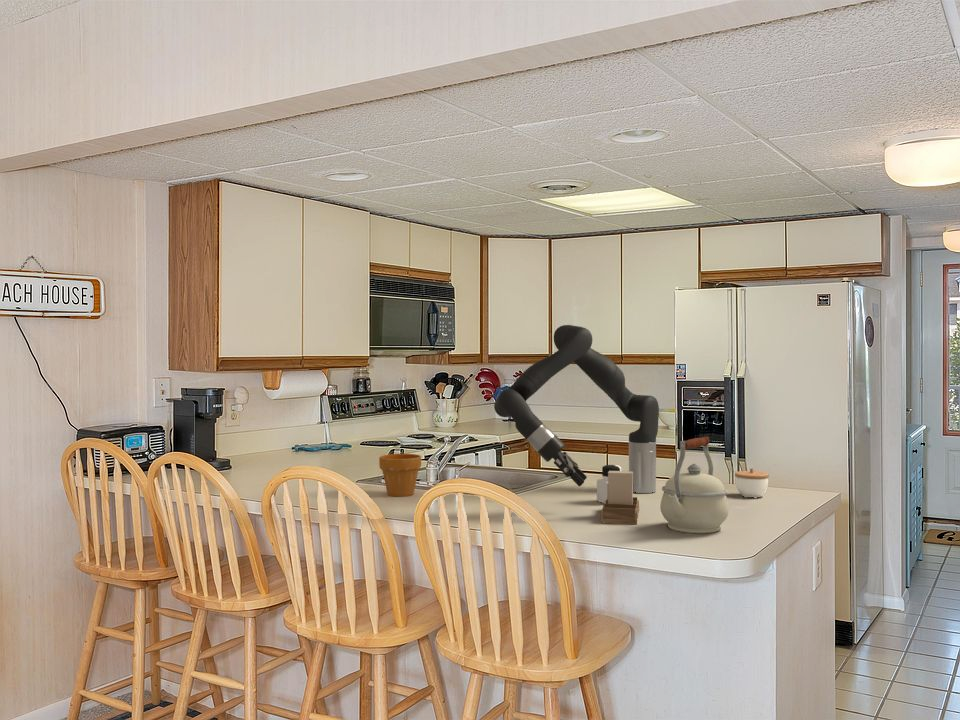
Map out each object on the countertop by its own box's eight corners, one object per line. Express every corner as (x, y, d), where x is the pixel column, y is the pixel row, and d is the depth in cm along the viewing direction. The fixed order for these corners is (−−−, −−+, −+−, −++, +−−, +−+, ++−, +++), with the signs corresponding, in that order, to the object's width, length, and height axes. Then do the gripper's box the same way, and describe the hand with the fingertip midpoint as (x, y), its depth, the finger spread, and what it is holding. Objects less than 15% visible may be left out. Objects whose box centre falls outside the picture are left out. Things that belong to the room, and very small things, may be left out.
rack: (605, 509, 263) (606, 495, 263) (638, 510, 261) (639, 497, 261) (601, 522, 244) (601, 508, 244) (636, 524, 242) (636, 509, 242)
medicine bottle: (607, 505, 270) (607, 467, 270) (596, 501, 277) (596, 464, 277) (627, 503, 273) (627, 466, 273) (615, 499, 280) (615, 463, 279)
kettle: (681, 517, 251) (681, 433, 251) (741, 526, 239) (742, 437, 239) (639, 532, 232) (640, 440, 231) (703, 542, 220) (703, 445, 220)
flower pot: (374, 497, 284) (373, 458, 284) (386, 490, 298) (386, 453, 298) (415, 498, 282) (415, 459, 282) (425, 491, 296) (425, 454, 296)
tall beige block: (609, 510, 255) (609, 470, 255) (632, 511, 254) (632, 471, 253) (608, 513, 251) (608, 472, 251) (632, 514, 250) (632, 473, 249)
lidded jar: (735, 498, 282) (735, 470, 282) (734, 493, 292) (734, 465, 292) (769, 499, 279) (770, 471, 279) (767, 494, 290) (767, 466, 290)
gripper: (551, 436, 249) (590, 477, 247) (557, 431, 263) (594, 470, 261) (533, 454, 250) (572, 494, 248) (539, 448, 264) (576, 486, 262)
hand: (583, 482), depth 254 cm, fingers open, 8 cm apart
